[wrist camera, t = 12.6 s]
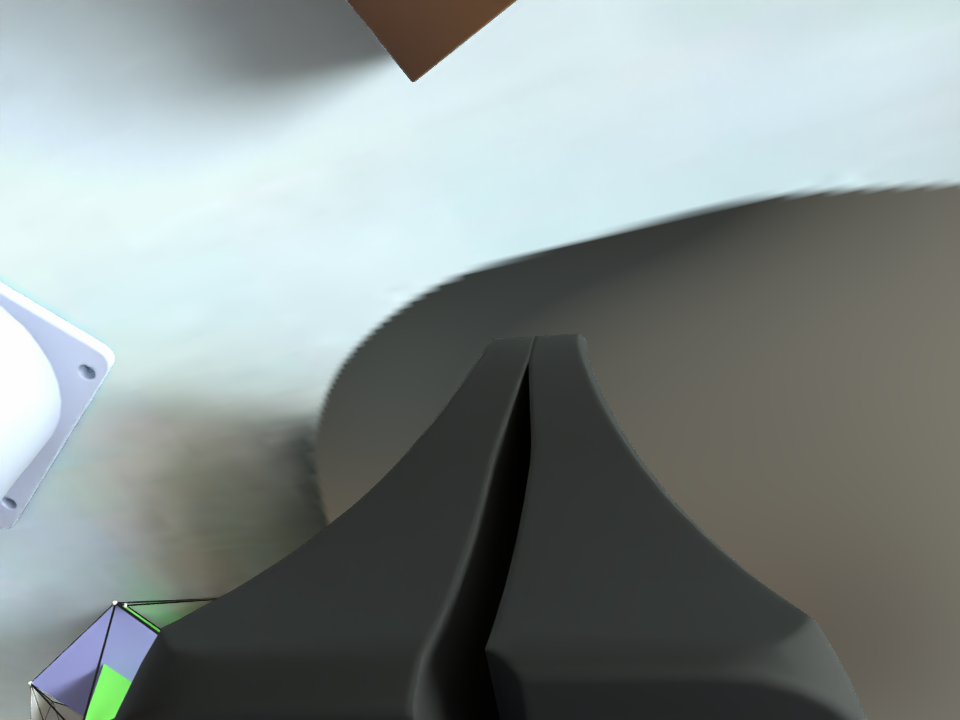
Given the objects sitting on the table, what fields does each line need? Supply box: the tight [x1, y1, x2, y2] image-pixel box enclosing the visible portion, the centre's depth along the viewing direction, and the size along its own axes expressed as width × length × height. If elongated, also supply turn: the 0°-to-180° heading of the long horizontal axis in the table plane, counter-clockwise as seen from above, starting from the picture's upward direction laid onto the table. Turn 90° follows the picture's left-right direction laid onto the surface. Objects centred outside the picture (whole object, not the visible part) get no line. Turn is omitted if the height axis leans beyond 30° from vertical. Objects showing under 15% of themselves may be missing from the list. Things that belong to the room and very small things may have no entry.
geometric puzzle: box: [28, 598, 218, 720], centre depth 30 cm, size 7×7×8 cm
